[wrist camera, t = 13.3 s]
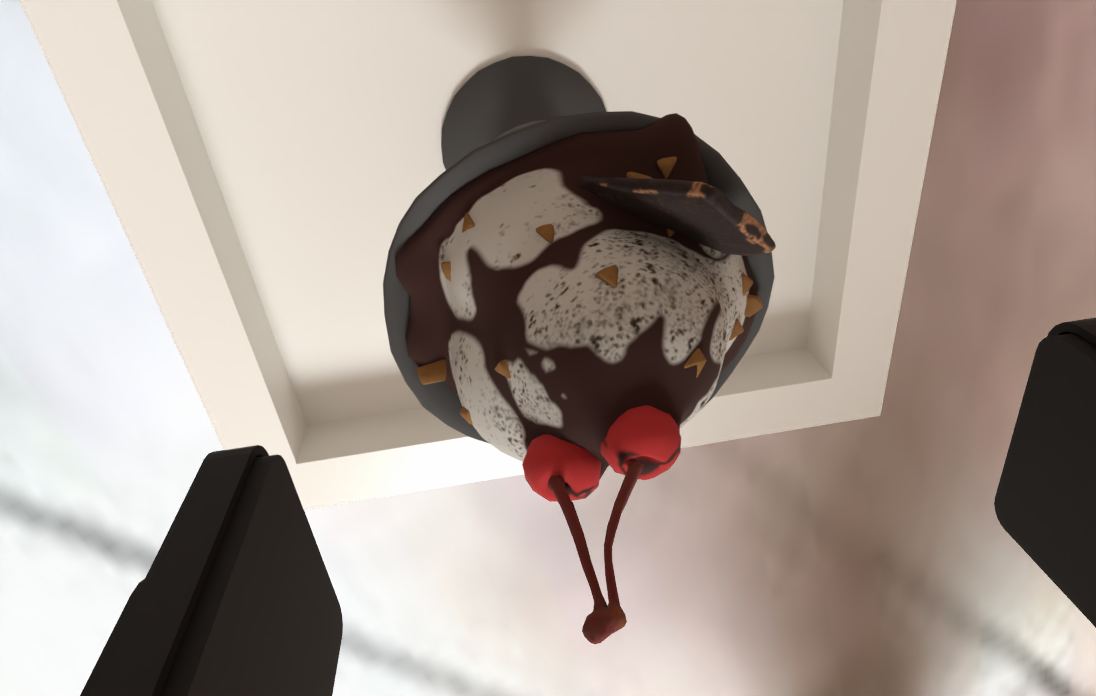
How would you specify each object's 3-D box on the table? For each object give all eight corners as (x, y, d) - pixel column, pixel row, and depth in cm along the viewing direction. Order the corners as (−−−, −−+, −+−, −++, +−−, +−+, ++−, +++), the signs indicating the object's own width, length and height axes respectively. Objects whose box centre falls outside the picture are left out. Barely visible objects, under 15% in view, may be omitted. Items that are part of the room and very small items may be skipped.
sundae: (468, 283, 23) (495, 756, 10) (369, 77, 19) (218, 408, 6) (664, 207, 22) (954, 608, 9) (600, -19, 19) (927, 136, 6)
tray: (840, 369, 28) (880, 415, 25) (272, 460, 27) (254, 517, 24) (953, -437, 16) (1048, -502, 13) (-52, -333, 15) (-155, -383, 12)
